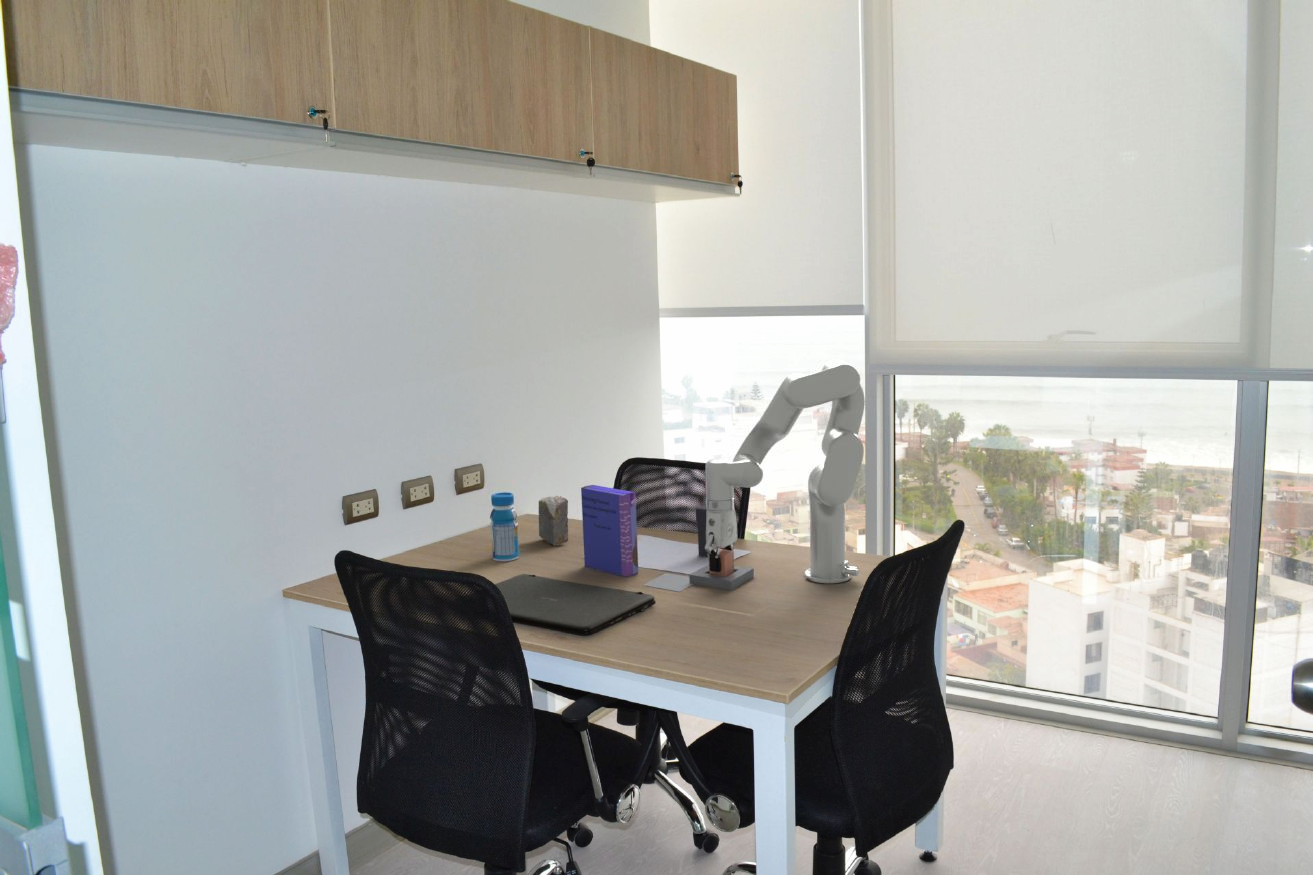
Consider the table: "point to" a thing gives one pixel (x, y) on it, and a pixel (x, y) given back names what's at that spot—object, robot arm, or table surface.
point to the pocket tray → (722, 578)
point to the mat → (670, 582)
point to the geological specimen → (553, 520)
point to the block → (725, 563)
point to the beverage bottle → (504, 527)
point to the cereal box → (610, 530)
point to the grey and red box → (702, 530)
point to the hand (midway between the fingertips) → (721, 567)
